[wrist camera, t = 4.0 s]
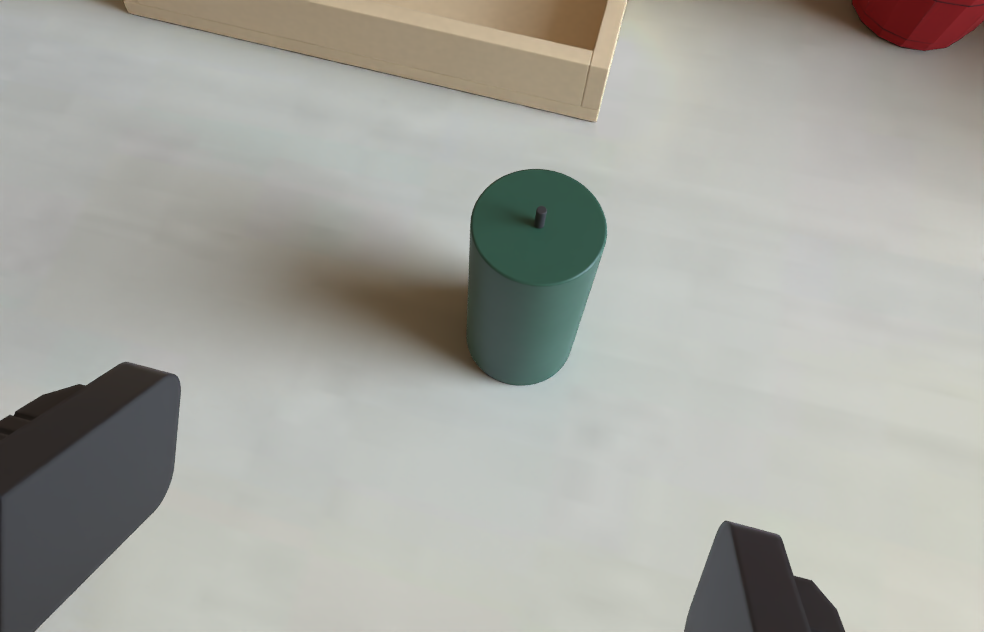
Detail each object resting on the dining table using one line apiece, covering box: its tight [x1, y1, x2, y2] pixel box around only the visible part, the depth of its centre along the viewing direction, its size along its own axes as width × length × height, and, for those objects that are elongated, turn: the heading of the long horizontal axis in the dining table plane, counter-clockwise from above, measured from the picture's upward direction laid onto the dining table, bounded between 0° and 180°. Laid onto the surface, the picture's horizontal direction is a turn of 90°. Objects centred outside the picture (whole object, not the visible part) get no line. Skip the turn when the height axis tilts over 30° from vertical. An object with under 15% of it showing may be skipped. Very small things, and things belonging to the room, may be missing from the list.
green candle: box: [467, 169, 607, 385], centre depth 27 cm, size 4×4×9 cm
